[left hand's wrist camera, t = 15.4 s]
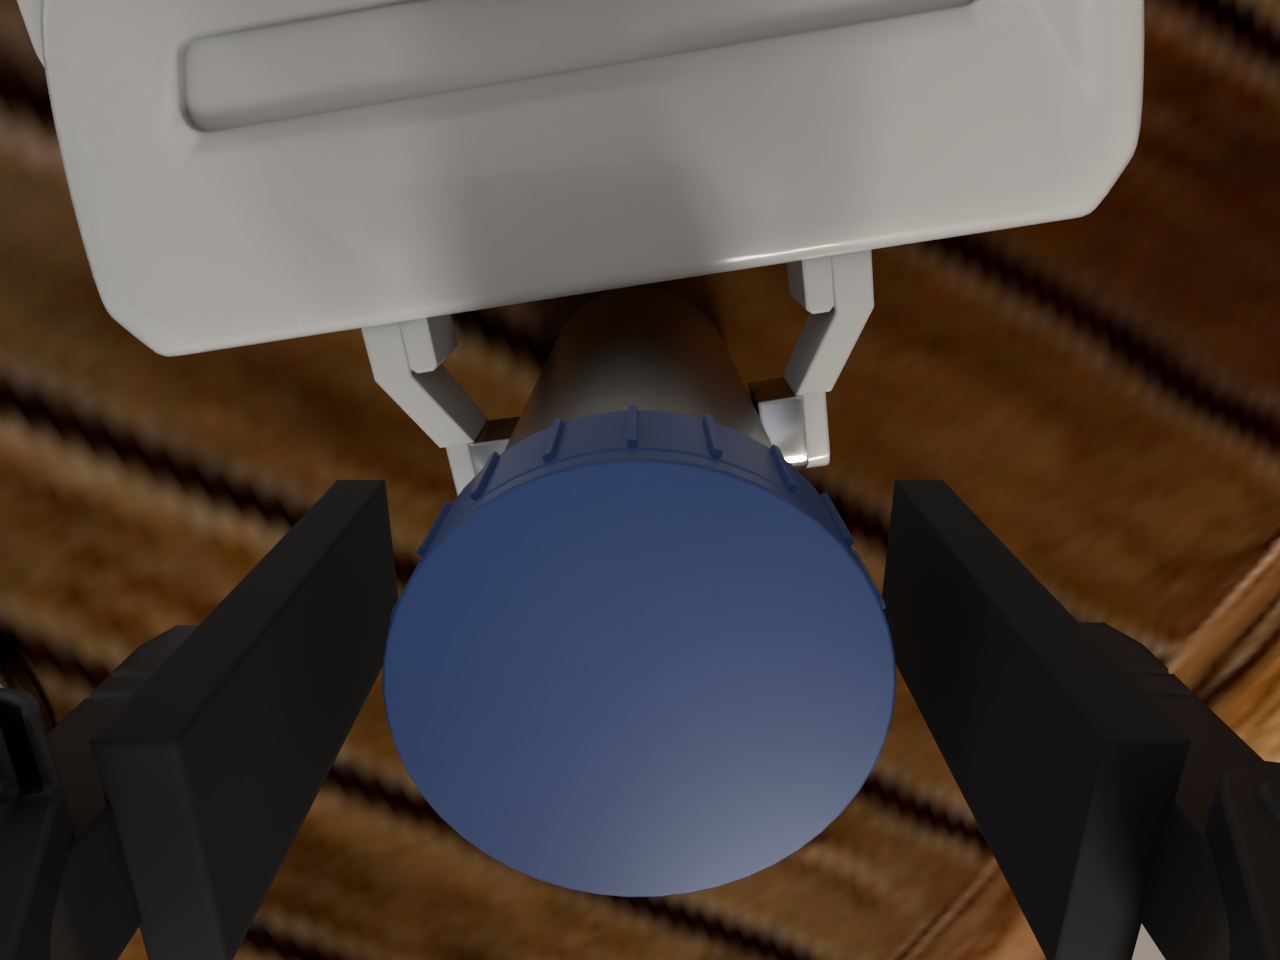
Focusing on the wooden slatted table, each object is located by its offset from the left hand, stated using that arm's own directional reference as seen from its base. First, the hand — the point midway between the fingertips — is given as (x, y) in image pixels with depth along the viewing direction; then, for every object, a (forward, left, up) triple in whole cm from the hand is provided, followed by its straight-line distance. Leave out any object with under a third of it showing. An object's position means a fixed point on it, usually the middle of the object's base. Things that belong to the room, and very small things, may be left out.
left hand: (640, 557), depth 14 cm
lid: (0, 0, +4) cm, 4 cm away
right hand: (0, -1, -6) cm, 6 cm away
